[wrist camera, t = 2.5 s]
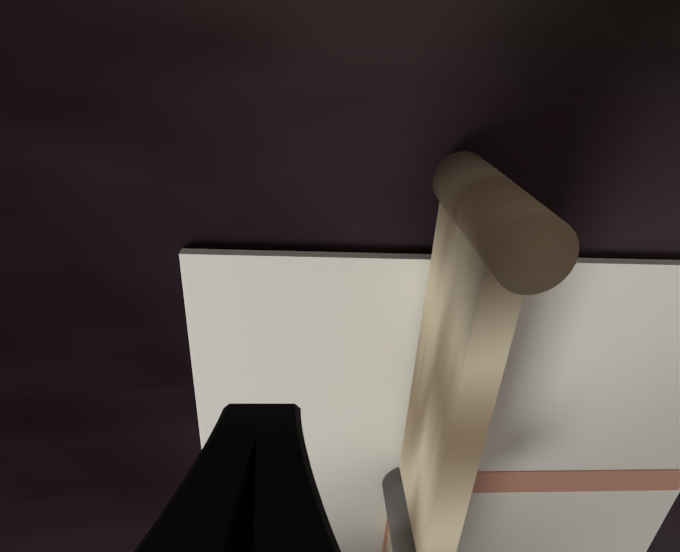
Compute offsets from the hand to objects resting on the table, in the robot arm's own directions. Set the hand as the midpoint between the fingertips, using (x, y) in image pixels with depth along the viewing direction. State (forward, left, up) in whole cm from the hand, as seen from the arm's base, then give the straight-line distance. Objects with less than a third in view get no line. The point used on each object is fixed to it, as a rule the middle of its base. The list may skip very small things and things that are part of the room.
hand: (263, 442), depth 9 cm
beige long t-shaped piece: (-2, -5, -6) cm, 8 cm away
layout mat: (-9, -7, -7) cm, 13 cm away
